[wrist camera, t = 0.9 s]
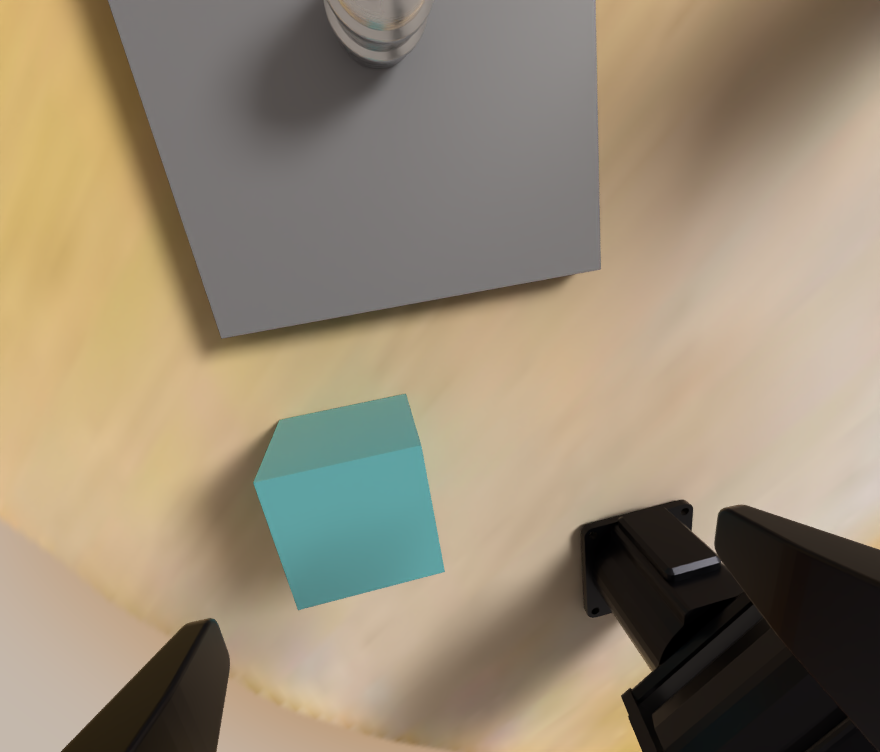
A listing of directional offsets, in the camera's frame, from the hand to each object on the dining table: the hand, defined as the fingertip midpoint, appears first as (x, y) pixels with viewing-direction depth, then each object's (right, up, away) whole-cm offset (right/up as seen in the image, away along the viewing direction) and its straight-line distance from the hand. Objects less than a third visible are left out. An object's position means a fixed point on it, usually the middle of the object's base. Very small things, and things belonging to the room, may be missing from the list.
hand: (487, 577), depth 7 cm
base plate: (-3, +15, +7) cm, 17 cm away
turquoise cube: (-5, 0, +12) cm, 13 cm away
